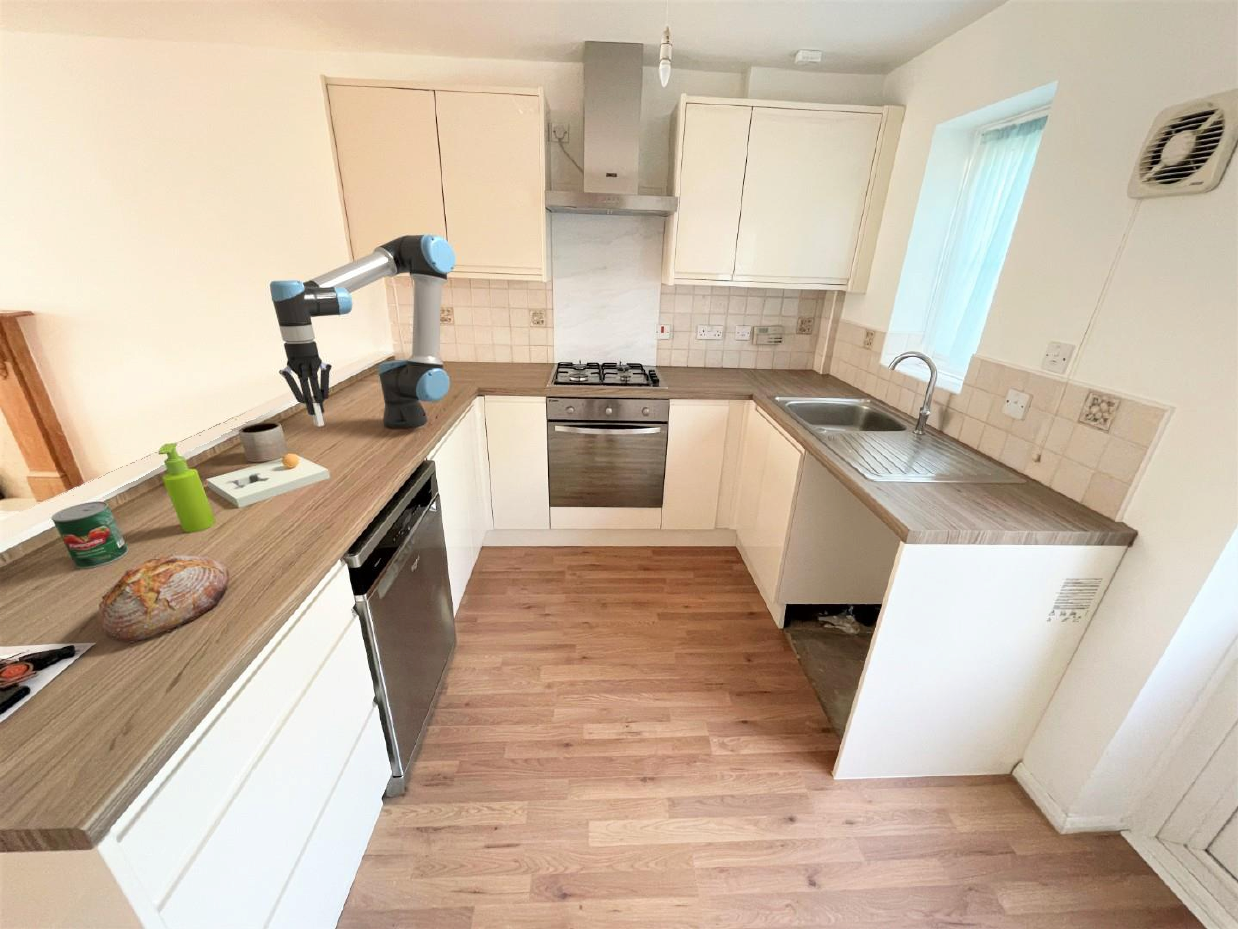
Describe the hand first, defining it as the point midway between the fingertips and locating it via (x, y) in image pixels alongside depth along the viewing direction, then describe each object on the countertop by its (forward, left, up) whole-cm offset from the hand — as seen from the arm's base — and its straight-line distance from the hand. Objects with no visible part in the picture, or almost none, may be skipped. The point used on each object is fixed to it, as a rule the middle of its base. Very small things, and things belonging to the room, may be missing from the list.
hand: (319, 424), depth 141 cm
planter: (+8, -22, -13) cm, 27 cm away
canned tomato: (+52, +12, -13) cm, 54 cm away
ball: (+10, 0, -8) cm, 12 cm away
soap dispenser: (+36, +13, -13) cm, 40 cm away
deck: (+16, 0, -12) cm, 20 cm away
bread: (+48, +43, -13) cm, 66 cm away
